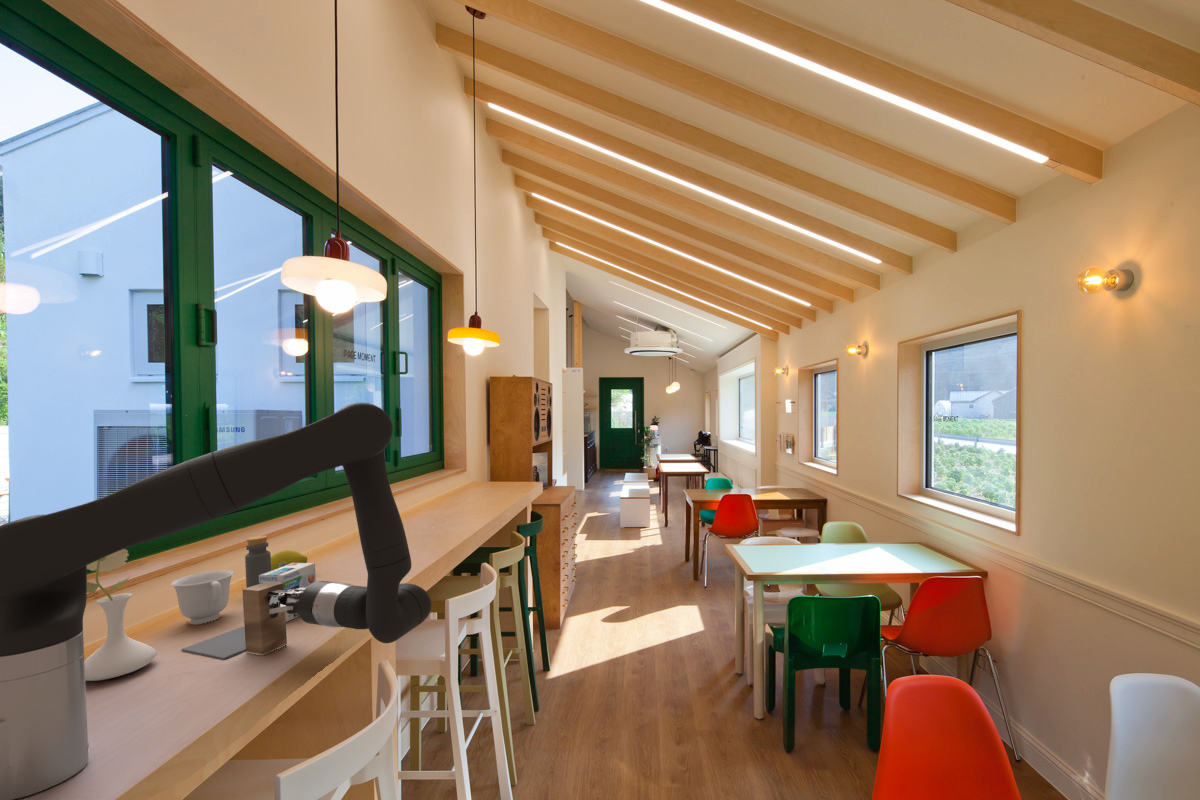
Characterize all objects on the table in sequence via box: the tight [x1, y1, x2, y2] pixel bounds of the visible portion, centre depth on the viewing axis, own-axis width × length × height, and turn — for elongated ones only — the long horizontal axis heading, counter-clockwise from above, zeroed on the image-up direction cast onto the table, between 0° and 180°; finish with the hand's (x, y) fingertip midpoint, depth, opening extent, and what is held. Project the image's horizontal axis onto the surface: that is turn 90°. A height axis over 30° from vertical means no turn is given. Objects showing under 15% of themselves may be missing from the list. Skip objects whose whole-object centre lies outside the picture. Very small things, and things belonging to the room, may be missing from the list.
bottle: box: [244, 535, 272, 588], centre depth 149 cm, size 6×6×15 cm
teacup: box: [170, 569, 235, 625], centre depth 129 cm, size 12×15×10 cm
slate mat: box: [181, 626, 246, 661], centre depth 114 cm, size 14×12×1 cm
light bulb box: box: [259, 562, 317, 623], centre depth 130 cm, size 11×7×11 cm, turn 168°
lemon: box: [271, 550, 308, 571], centre depth 163 cm, size 11×8×8 cm
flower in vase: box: [84, 548, 157, 682], centre depth 103 cm, size 13×11×25 cm
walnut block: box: [242, 582, 288, 657], centre depth 110 cm, size 5×5×12 cm
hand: (271, 596), depth 109 cm, fingers closed
